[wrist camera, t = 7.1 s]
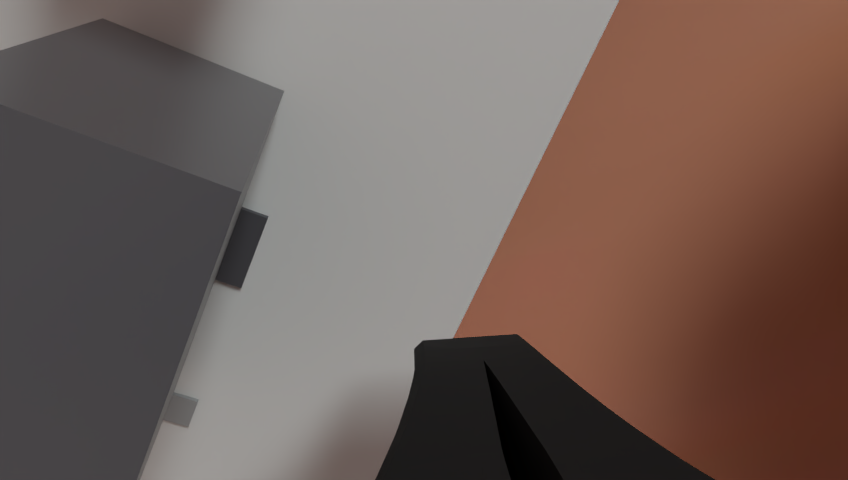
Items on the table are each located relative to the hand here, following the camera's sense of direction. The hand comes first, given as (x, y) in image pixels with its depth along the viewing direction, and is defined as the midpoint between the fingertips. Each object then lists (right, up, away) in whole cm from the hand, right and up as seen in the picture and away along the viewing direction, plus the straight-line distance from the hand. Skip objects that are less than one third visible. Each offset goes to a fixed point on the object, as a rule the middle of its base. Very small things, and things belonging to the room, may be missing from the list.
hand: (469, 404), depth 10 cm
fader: (-5, +2, +1) cm, 5 cm away
